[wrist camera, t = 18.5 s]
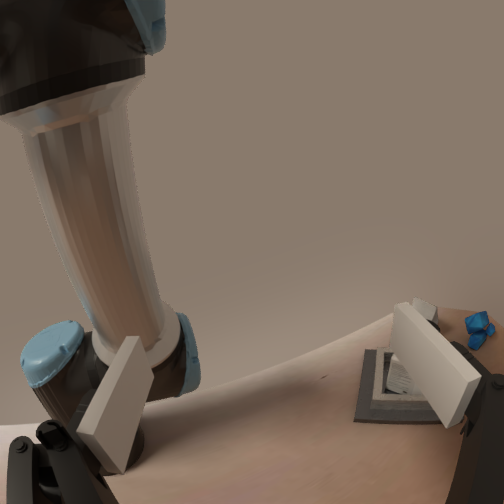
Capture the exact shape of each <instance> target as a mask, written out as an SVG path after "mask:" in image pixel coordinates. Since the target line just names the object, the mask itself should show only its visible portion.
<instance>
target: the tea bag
mask: <svg viewBox="0 0 504 504" xmlns="http://www.w3.org/2000/svg"><path fill="white" fill-rule="evenodd" d="M412 307H413V308H414V309H415V310H417V311H418V312H419V313H420V314H421V315H422V316H423V317H424V318H425V319H428V320H431V321H433V322H435V323H436V324H438V315H437V307H436V306H434V305H432V304H430V303H428V302H426V301H424V300H422V299H419V298H417V297H414V300H413V303H412Z"/></svg>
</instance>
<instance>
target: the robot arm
mask: <svg viewBox="0 0 504 504" xmlns="http://www.w3.org/2000/svg"><path fill="white" fill-rule="evenodd" d="M164 15H165V0H0V120H2V121H4V122H5V123H7V124H9V125H11V126H13V127H14V128H16V129H18V130H19V131H20V133H21V134H22V138H23V143H24V147H25V151H26V156H27V160H28V164H29V167H30V172H31V175H32V179H33V182H34V186H35V189H36V192H37V195H38V199H39V202H40V205H41V208H42V211H43V214H44V217H45V220H46V223H47V225H48V228H49V230H50V233H51V236H52V239H53V241H54V244H55V246H56V249H57V251H58V254H59V256H60V258H61V261H62V263H63V265H64V268H65V270H66V272H67V274H68V276H69V278H70V281H71V283H72V285H73V287H74V289H75V291H76V293H77V295H78V297H79V299H80V301H81V303H82V305H83V307H84V309H85V311H86V313H87V315H88V317H89V318H90V320H91V322H92V324H93V326H94V327H93V331H91V332H86V333H84V329H83V327H82V326H81V325H80V324H79V323H78V322H76V321H71V320H69V321H63V322H59V323H56V324H54V325H51V326H49V327H47V328H45V329H44V330H42V331H41V332H39V333H38V334H37V335H35V336H34V337H33V338H32V339H31V340H30V341H29V342H28V343H27V344H26V346H25V347H24V349H23V352H22V354H21V359H20V362H21V367H22V369H23V372H24V374H25V376H26V378H27V380H28V384H29V386H30V387H31V388H32V389H33V391H34V392H35V394H36V396H37V397H38V399H39V400H40V402H41V403H42V405H43V406H44V408H45V409H46V411H47V412H48V414H49V415H50V417H51V418H52V420H47V421H45V422H43V423H41V425H40V426H39V427H38V428H37V430H36V437H37V438H38V440H39V441H40V442H41V443H42V444H34V443H33V442H32V441H31V439H30V438H28V437H26V436H20V437H17V438H16V439H14V440H13V441H12V443H11V444H10V447H9V456H8V469H7V504H119V503H118V501H117V500H116V498H115V496H114V495H113V493H112V491H111V490H110V488H109V486H108V484H107V482H106V481H105V479H104V477H103V476H107V475H113V474H116V473H117V474H123V475H124V472H125V469H127V468H129V467H130V466H131V465H132V464H133V463H134V462H135V461H136V460H137V459H138V458H139V456H140V454H141V452H142V450H143V446H144V436H143V433H142V430H141V429H140V427H139V422H140V419H141V415H142V412H143V409H144V406H145V403H146V402H151V401H156V400H161V399H165V398H170V397H180V396H181V395H182V394H185V393H189V392H192V391H194V390H196V389H197V388H198V386H199V384H200V380H201V371H200V363H199V359H198V351H197V346H196V341H195V337H194V334H193V330H192V327H191V324H190V322H189V319H188V318H187V316H186V315H184V314H183V313H175V311H174V310H173V308H171V306H169V305H168V304H167V303H166V302H164V301H162V300H161V298H160V295H159V291H158V287H157V283H156V279H155V275H154V271H153V266H152V262H151V258H150V253H149V249H148V244H147V239H146V235H145V230H144V225H143V220H142V214H141V209H140V203H139V197H138V191H137V186H136V179H135V173H134V165H133V159H132V151H131V143H130V134H129V124H128V114H127V101H128V98H129V96H130V95H131V94H132V93H133V91H134V90H135V89H136V87H137V86H138V85H139V84H140V83H141V82H142V80H143V79H144V78H145V55H147V54H149V55H153V54H155V53H157V52H160V51H161V50H162V49H163V48H164V45H165V41H166V27H165V17H164ZM389 347H390V349H391V350H392V351H393V353H394V354H395V355H396V357H397V358H398V360H399V361H400V362H401V364H402V365H403V367H404V368H405V369H406V371H407V372H408V374H409V375H410V376H411V378H412V379H413V381H414V382H415V383H416V385H417V386H418V388H419V389H420V391H421V392H422V393H423V395H424V396H425V398H426V399H427V401H428V402H429V404H430V405H431V407H432V408H433V410H434V411H435V413H436V414H437V415H438V417H439V418H440V420H441V422H442V423H443V425H444V426H445V428H446V429H448V428H450V427H452V426H454V425H456V424H458V423H460V421H461V419H462V417H463V415H464V413H465V414H466V416H467V417H468V419H467V421H466V423H465V425H464V427H463V428H462V430H461V432H460V434H461V435H462V433H463V432H464V436H463V441H462V446H461V450H460V455H459V459H458V463H457V467H456V471H455V474H454V478H453V481H452V484H451V488H450V491H449V494H448V497H447V500H446V503H445V504H503V500H504V375H501V374H493V375H492V374H491V373H490V372H489V371H488V370H487V369H486V368H485V367H484V366H483V365H482V364H481V363H480V362H479V361H478V360H477V359H476V358H474V356H473V355H472V354H471V353H469V351H468V350H467V349H466V348H465V347H464V346H463V345H461V344H459V343H457V342H455V341H453V342H450V343H449V342H448V341H447V340H446V339H445V338H444V337H443V336H442V335H441V334H440V333H439V332H438V331H437V330H436V329H435V328H434V327H433V326H432V325H431V324H430V323H429V322H428V321H427V320H426V319H425V318H424V317H423V316H422V315H421V314H420V313H419V312H418V311H417V310H415V309H414V308H413V307H412V306H411V305H410V304H409V303H408V302H403V303H399V304H395V310H394V317H393V325H392V332H391V339H390V345H389ZM464 430H465V431H464Z"/></svg>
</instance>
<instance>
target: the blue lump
mask: <svg viewBox="0 0 504 504" xmlns="http://www.w3.org/2000/svg"><path fill="white" fill-rule="evenodd" d="M465 323H466V327H467V331H468V334H471V333H473V334H472V335H471V336H470V339H469V342H468V346H469V347H471V348H473V349H475V350H478V348H479V347H480V346H481V345H482V343H483V342H484V341H485V340H486V336H487V334H488V335H489V336H491V335H492V334H493V333H494V332H495V326H494V325H493V324H492V323H490V324H489V319H488V315H487V312H486V311H483V312H479V313H476V314H474V315H472V316H469V317H467V318H465ZM488 324H489V326H488V327H487V329H486V330H484V329H483V328H484V327H485V326H486V325H488ZM474 332H475V333H474Z"/></svg>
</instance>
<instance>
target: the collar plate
mask: <svg viewBox="0 0 504 504" xmlns="http://www.w3.org/2000/svg"><path fill="white" fill-rule="evenodd" d="M393 354H394V353H393V351H392V350H391V349H390V348H377V350H368V349H365V355H364V363H363V370H362V377H361V383H360V389H359V395H358V401H357V407H356V412H355V417H354V422H361V423H376V424H443V423H442V422H441V420H440V418H439V417H438V415H437V414H436V413H435V411H434V410H433V408H432V407H431V405H430V404H429V402H428V401H427V399H426V398H425V396H424V395H409V394H400V393H397V392H394V391H391V390H388V389H386V388H385V386H386V382H387V377H388V372H389V367H390V362H391V358H392V356H393ZM463 420H464V415H463V417H462V419H461V421H460V423H462V422H463Z"/></svg>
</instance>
